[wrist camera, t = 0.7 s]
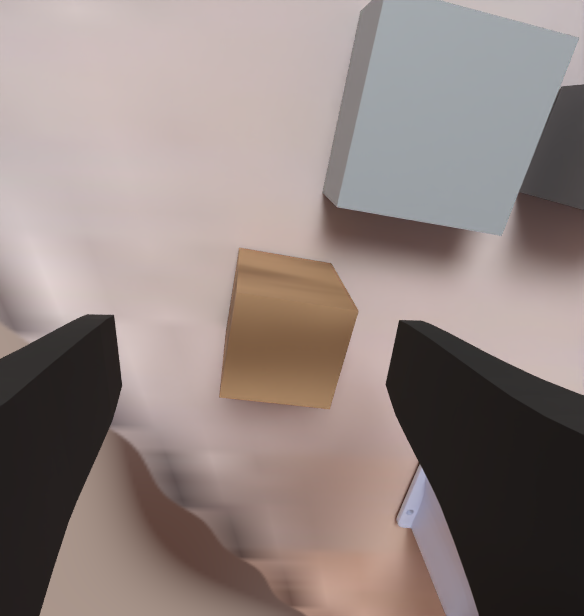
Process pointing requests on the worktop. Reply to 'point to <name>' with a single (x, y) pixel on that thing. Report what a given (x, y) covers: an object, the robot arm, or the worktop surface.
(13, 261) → the worktop surface
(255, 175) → the worktop surface
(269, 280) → the walnut block
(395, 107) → the slate base block
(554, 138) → the charcoal block
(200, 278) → the worktop surface
